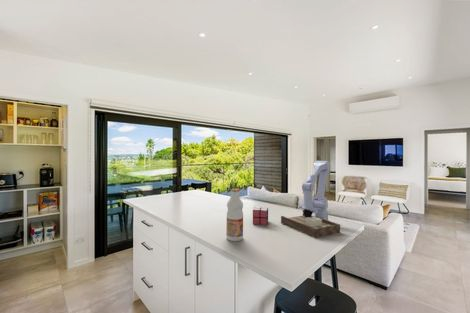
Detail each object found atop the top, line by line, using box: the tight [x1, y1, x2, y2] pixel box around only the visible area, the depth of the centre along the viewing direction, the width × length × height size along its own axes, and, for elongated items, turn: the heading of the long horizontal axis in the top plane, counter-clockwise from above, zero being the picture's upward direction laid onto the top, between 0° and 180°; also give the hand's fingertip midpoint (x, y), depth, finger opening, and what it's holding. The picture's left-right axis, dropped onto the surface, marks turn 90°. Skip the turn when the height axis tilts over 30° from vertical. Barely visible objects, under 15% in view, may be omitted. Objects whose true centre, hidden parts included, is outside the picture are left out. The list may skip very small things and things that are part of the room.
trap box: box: [280, 212, 341, 239], centre depth 147 cm, size 21×31×5 cm
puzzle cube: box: [252, 206, 269, 226], centre depth 157 cm, size 10×10×10 cm
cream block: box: [305, 217, 322, 227], centre depth 143 cm, size 7×7×4 cm
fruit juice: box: [225, 188, 244, 242], centre depth 126 cm, size 9×9×28 cm
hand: (307, 221), depth 148 cm, fingers closed
